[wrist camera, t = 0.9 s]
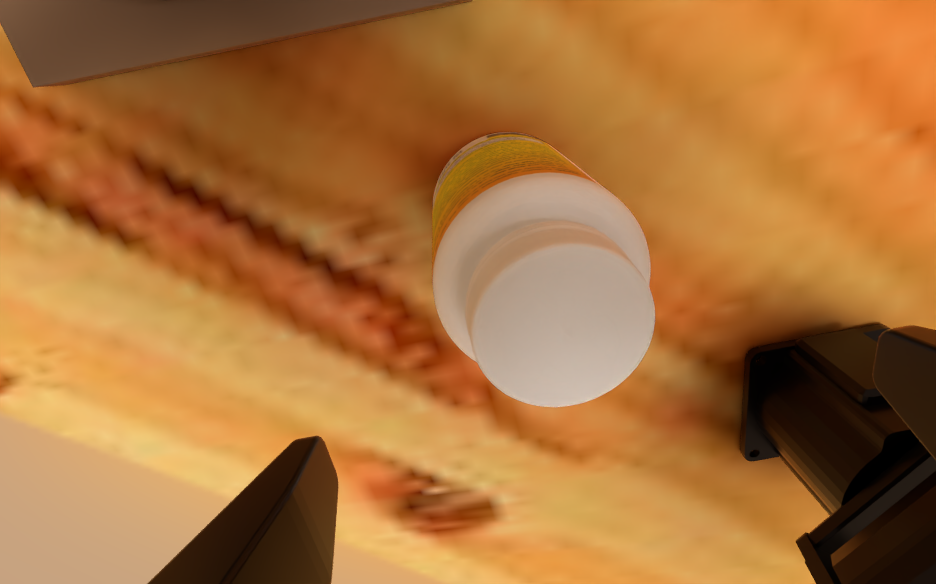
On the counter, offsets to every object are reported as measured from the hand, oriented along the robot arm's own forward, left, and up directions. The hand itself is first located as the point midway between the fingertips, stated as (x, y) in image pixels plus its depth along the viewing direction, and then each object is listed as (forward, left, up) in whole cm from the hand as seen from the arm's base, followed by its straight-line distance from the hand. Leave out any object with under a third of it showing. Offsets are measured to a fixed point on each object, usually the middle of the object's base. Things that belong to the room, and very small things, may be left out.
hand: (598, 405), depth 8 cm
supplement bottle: (0, 0, -13) cm, 13 cm away
